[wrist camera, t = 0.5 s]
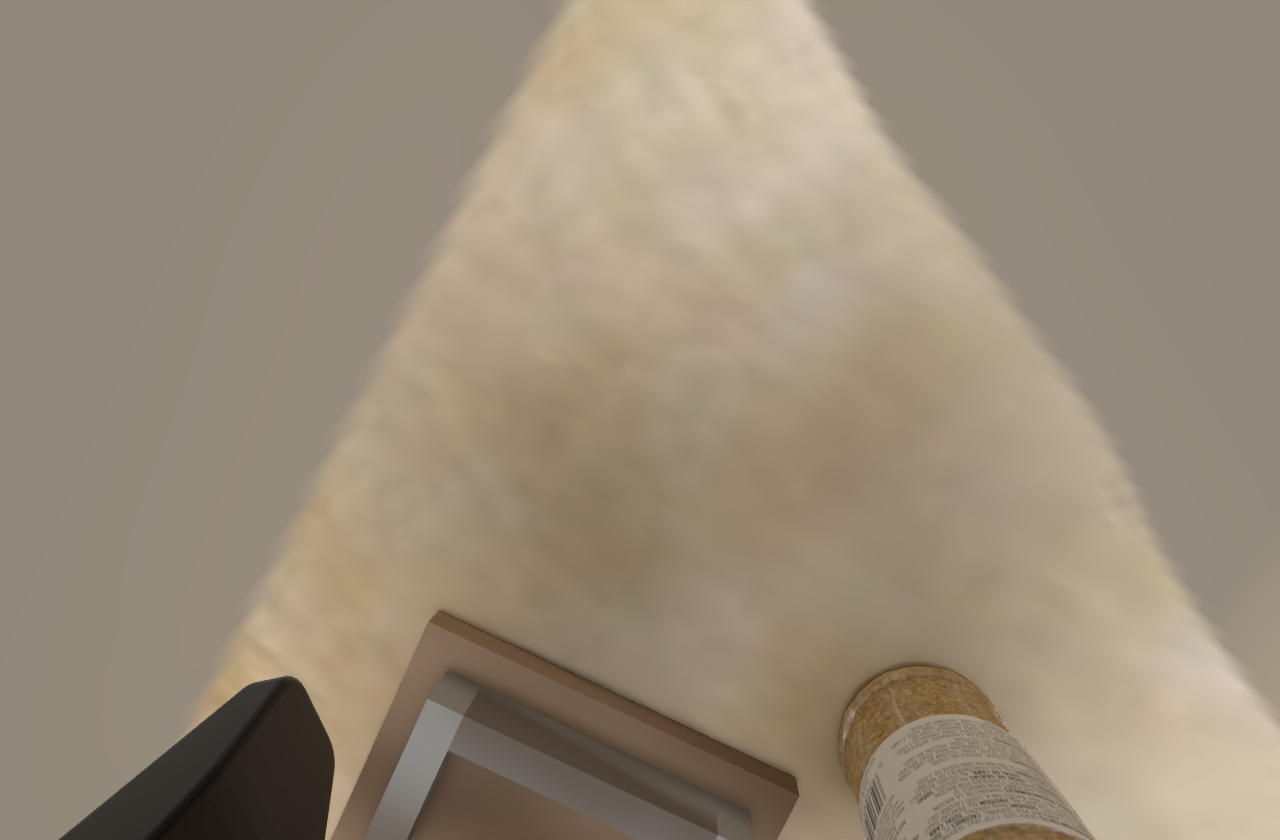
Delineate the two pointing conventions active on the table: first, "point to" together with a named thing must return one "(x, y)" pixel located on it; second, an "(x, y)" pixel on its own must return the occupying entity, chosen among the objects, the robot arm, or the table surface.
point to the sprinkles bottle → (945, 765)
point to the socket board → (545, 759)
